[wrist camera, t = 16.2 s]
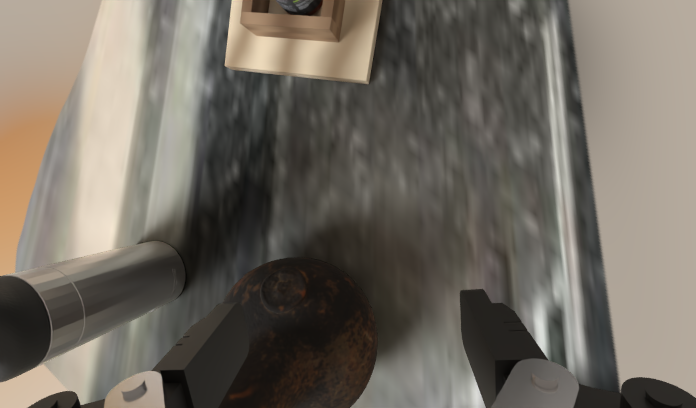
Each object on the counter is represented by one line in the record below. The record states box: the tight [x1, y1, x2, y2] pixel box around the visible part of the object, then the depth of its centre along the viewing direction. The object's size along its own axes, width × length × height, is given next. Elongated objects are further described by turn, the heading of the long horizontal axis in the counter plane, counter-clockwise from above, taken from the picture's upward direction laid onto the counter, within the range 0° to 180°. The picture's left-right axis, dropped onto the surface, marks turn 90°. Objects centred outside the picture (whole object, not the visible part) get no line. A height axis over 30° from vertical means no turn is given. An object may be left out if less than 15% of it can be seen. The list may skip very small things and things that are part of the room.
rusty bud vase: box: [218, 258, 378, 408], centre depth 29 cm, size 18×18×28 cm
